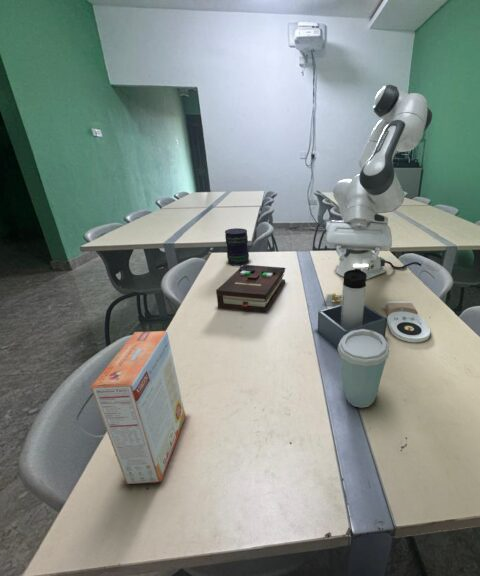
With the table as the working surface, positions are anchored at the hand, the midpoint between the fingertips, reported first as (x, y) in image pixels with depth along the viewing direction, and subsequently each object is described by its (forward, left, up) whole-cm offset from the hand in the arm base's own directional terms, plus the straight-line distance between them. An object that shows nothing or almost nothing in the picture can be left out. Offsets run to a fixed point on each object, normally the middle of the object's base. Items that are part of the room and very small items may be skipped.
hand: (357, 261), depth 95 cm
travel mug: (+7, +7, -20) cm, 22 cm away
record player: (-12, +11, -20) cm, 26 cm away
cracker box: (+60, +20, -20) cm, 66 cm away
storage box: (+7, +7, -20) cm, 22 cm away
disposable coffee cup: (+21, +28, -20) cm, 41 cm away
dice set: (-3, -13, -20) cm, 24 cm away
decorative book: (+21, -33, -20) cm, 43 cm away
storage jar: (+14, -70, -20) cm, 74 cm away
